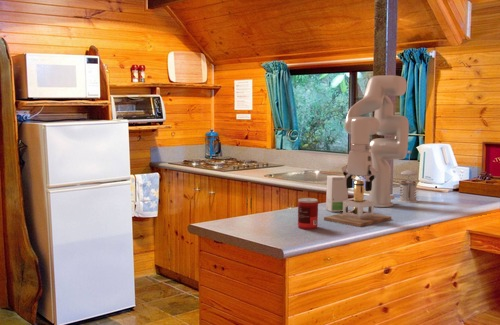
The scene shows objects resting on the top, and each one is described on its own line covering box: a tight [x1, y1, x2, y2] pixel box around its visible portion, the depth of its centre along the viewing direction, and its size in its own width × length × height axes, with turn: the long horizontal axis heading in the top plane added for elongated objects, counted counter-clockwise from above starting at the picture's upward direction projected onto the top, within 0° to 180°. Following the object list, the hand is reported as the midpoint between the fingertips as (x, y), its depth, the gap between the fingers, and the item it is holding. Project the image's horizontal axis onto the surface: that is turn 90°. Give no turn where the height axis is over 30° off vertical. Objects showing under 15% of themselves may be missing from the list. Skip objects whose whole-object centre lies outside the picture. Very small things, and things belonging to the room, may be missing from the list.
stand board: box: [323, 212, 392, 228], centre depth 250 cm, size 22×18×1 cm
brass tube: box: [352, 179, 365, 214], centre depth 249 cm, size 4×4×15 cm
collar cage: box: [342, 198, 375, 220], centre depth 249 cm, size 9×9×7 cm
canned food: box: [297, 197, 319, 230], centre depth 233 cm, size 8×8×11 cm
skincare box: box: [325, 175, 349, 213], centre depth 269 cm, size 8×7×16 cm
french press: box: [397, 150, 419, 204], centre depth 295 cm, size 10×12×25 cm
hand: (358, 189), depth 249 cm, fingers open, 9 cm apart
